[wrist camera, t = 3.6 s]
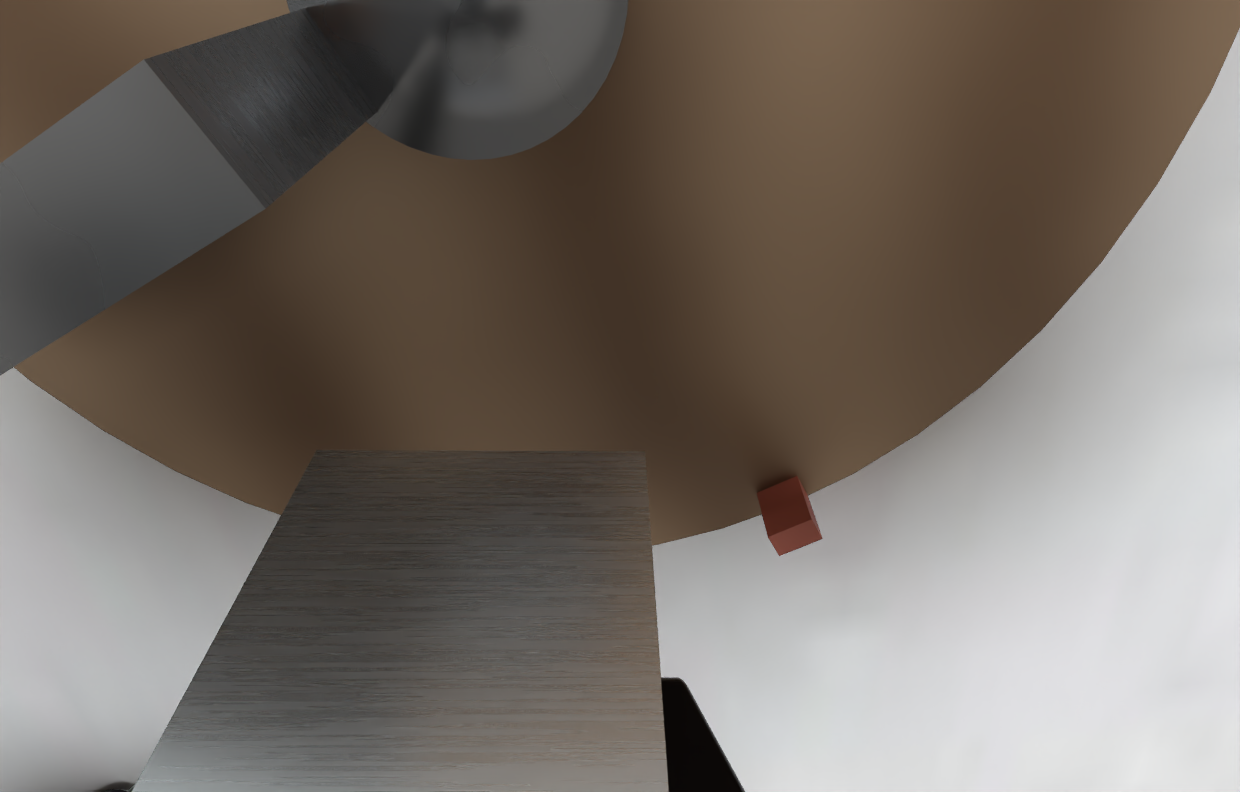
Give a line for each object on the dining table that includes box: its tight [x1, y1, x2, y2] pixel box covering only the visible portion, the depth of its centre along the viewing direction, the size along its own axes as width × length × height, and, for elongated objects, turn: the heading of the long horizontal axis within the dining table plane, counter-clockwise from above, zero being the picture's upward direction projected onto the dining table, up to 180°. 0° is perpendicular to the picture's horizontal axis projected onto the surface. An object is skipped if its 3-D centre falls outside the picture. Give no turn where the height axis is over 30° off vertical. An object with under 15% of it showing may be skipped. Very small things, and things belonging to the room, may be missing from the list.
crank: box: [0, 0, 628, 375], centre depth 8 cm, size 11×4×5 cm, turn 119°
